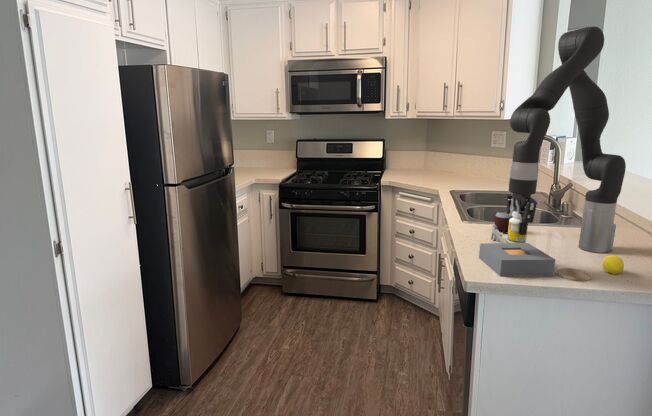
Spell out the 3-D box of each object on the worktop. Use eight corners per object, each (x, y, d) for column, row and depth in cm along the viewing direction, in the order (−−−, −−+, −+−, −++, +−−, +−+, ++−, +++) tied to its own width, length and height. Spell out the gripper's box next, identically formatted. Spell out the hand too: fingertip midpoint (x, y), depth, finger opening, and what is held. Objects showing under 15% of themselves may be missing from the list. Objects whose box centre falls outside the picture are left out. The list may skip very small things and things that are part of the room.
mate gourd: (492, 229, 176) (495, 193, 173) (512, 230, 174) (516, 194, 171) (495, 234, 169) (498, 196, 165) (516, 235, 167) (520, 197, 164)
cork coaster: (578, 269, 131) (579, 267, 131) (598, 281, 123) (598, 279, 122) (550, 270, 131) (550, 268, 131) (567, 281, 122) (567, 279, 122)
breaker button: (519, 254, 136) (520, 249, 136) (528, 260, 131) (528, 255, 130) (502, 254, 136) (502, 249, 136) (510, 260, 131) (510, 255, 130)
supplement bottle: (521, 246, 129) (524, 215, 127) (503, 242, 132) (506, 212, 130) (528, 242, 132) (532, 212, 130) (511, 239, 136) (514, 209, 134)
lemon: (624, 279, 126) (628, 262, 124) (603, 276, 127) (606, 260, 126) (618, 268, 132) (622, 252, 130) (598, 265, 134) (601, 250, 132)
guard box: (526, 257, 142) (528, 243, 141) (553, 275, 127) (555, 259, 125) (478, 257, 142) (480, 243, 140) (499, 276, 126) (501, 260, 125)
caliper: (490, 239, 163) (491, 223, 161) (493, 239, 163) (494, 223, 161) (514, 257, 143) (516, 239, 141) (517, 257, 143) (519, 239, 141)
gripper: (549, 181, 121) (541, 238, 125) (524, 173, 135) (518, 225, 139) (522, 180, 121) (516, 238, 124) (500, 173, 135) (495, 225, 138)
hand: (517, 231), depth 132 cm, fingers closed on supplement bottle, 5 cm apart
